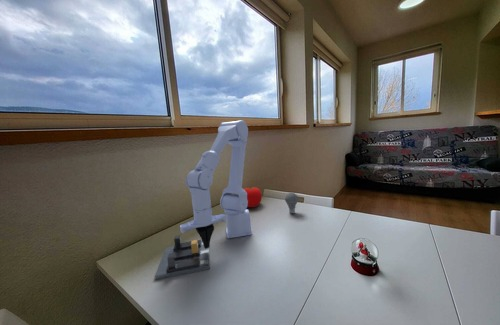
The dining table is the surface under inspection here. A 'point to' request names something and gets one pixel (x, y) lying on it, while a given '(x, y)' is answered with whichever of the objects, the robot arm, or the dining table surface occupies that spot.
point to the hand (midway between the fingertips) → (206, 246)
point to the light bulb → (291, 201)
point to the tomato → (253, 196)
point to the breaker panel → (183, 259)
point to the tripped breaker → (194, 246)
